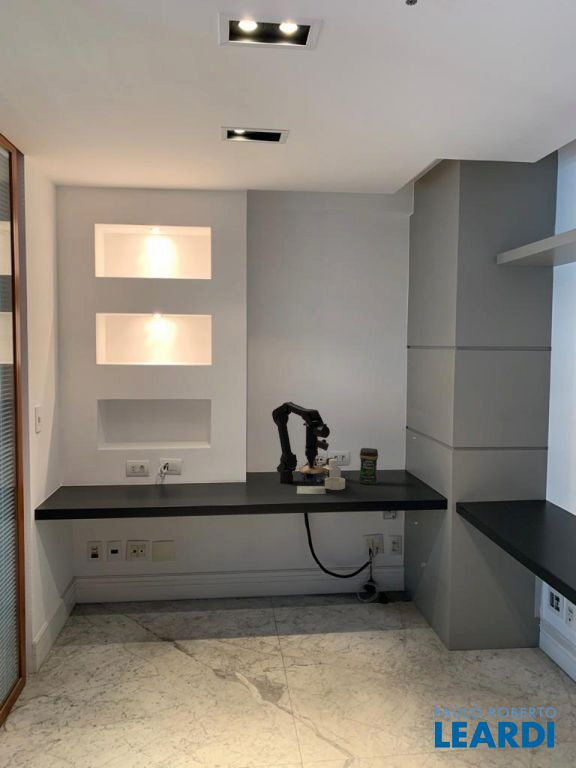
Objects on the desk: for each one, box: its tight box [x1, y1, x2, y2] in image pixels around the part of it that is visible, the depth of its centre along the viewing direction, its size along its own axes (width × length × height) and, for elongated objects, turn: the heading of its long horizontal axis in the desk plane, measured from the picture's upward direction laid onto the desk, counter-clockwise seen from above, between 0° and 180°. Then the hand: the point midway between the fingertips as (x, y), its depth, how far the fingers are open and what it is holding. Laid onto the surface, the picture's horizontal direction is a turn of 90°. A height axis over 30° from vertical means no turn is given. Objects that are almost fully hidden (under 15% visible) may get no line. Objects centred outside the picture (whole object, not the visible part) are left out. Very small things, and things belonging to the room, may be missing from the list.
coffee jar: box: [358, 447, 379, 486], centre depth 302 cm, size 10×8×19 cm
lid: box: [298, 462, 324, 474], centre depth 286 cm, size 12×12×5 cm
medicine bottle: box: [322, 457, 342, 481], centre depth 308 cm, size 7×7×12 cm
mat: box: [296, 485, 327, 495], centre depth 287 cm, size 14×14×1 cm
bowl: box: [324, 477, 346, 491], centre depth 292 cm, size 10×10×4 cm
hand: (311, 466), depth 286 cm, fingers closed on lid, 3 cm apart
